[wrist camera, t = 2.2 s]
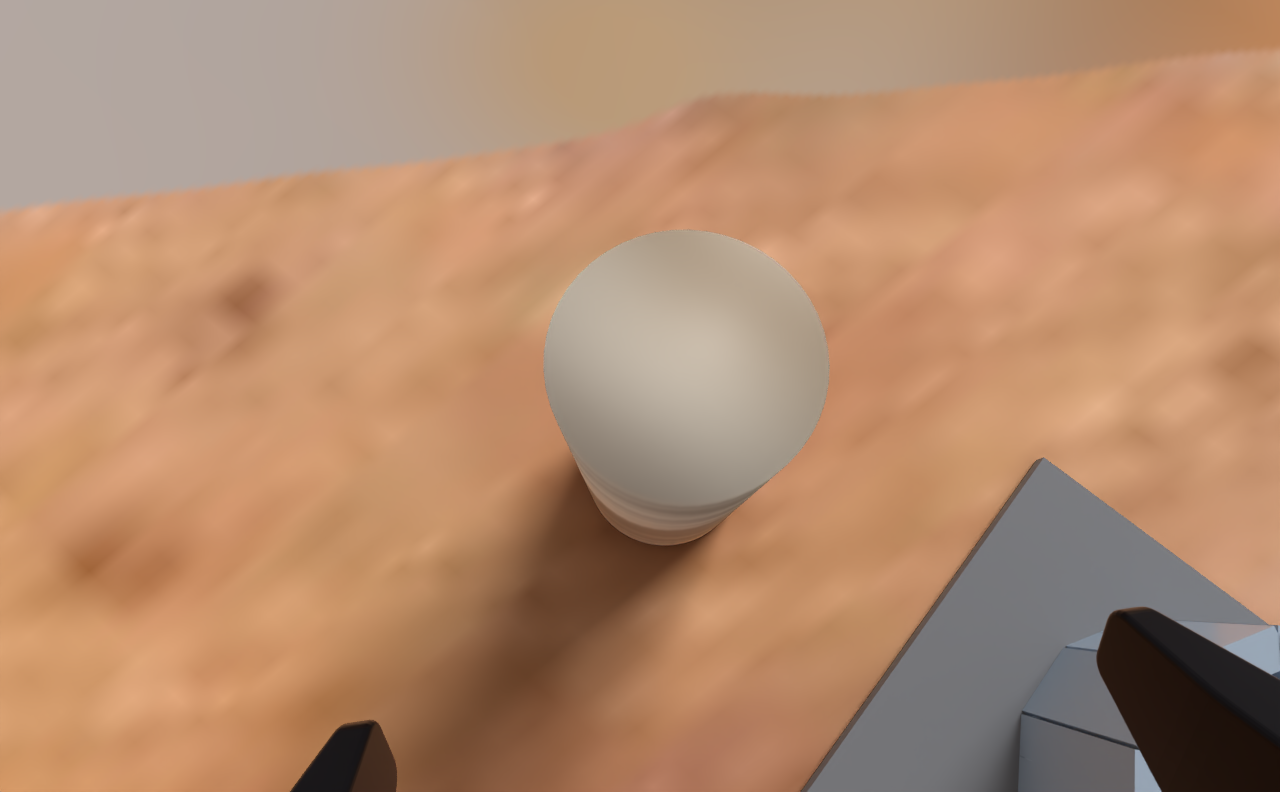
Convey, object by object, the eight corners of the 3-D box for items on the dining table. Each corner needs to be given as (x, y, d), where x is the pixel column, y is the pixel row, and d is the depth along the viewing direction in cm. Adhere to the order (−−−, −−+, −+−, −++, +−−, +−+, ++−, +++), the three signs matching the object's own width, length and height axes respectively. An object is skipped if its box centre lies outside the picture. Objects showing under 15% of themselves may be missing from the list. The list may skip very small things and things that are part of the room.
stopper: (675, 579, 20) (708, 565, 11) (555, 476, 21) (484, 375, 11) (772, 457, 21) (886, 343, 11) (654, 363, 22) (667, 179, 12)
